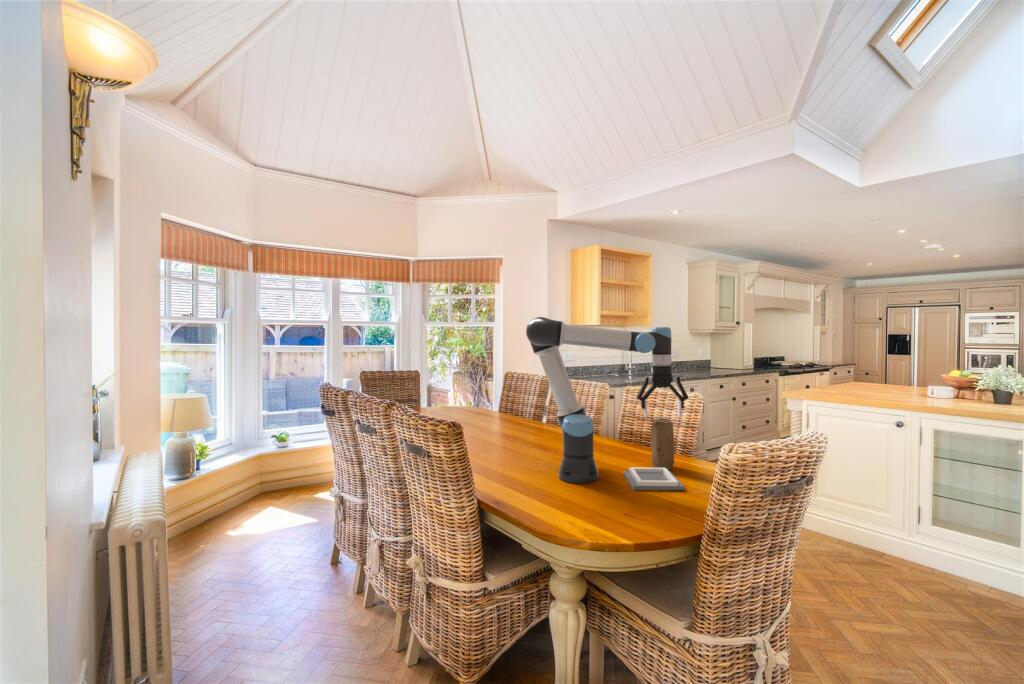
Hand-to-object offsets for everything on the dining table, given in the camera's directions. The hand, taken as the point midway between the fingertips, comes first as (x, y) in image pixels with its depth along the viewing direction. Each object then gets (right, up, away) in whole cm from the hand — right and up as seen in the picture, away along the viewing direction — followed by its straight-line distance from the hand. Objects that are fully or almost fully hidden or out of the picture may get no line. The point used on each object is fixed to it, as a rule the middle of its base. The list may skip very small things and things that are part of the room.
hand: (662, 416), depth 192 cm
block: (0, -21, +1) cm, 21 cm away
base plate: (-9, -22, -17) cm, 29 cm away
